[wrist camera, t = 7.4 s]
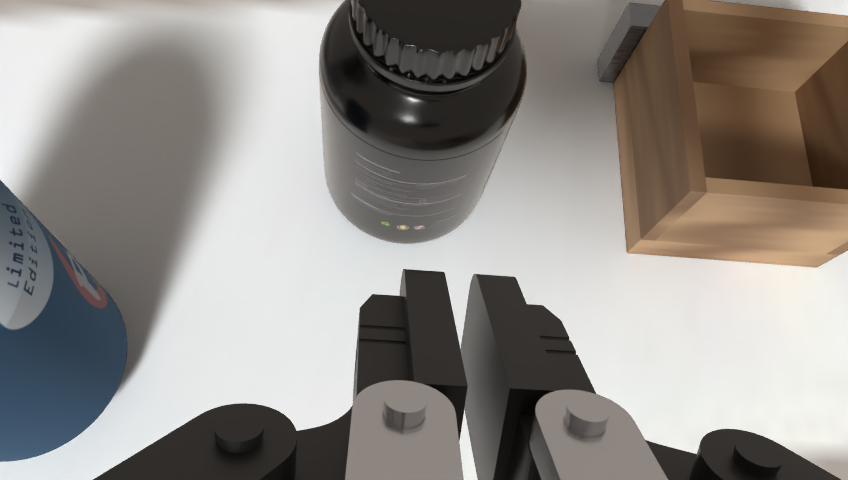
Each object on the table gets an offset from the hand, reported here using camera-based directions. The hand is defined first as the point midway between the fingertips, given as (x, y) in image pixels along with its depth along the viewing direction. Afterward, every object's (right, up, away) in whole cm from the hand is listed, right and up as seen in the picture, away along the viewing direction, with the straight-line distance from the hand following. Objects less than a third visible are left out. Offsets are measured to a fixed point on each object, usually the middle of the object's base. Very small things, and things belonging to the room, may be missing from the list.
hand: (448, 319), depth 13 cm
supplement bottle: (-1, +4, +18) cm, 19 cm away
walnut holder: (+13, +5, +20) cm, 24 cm away
